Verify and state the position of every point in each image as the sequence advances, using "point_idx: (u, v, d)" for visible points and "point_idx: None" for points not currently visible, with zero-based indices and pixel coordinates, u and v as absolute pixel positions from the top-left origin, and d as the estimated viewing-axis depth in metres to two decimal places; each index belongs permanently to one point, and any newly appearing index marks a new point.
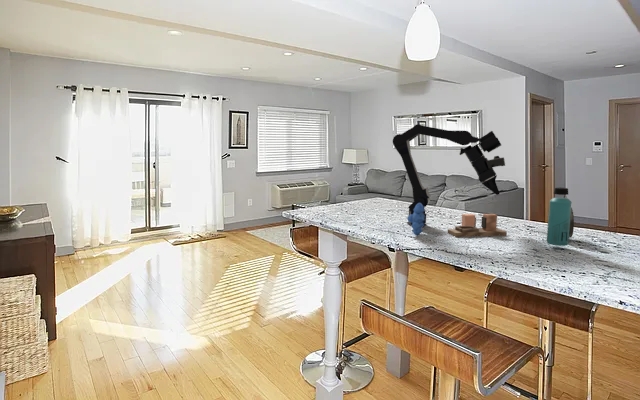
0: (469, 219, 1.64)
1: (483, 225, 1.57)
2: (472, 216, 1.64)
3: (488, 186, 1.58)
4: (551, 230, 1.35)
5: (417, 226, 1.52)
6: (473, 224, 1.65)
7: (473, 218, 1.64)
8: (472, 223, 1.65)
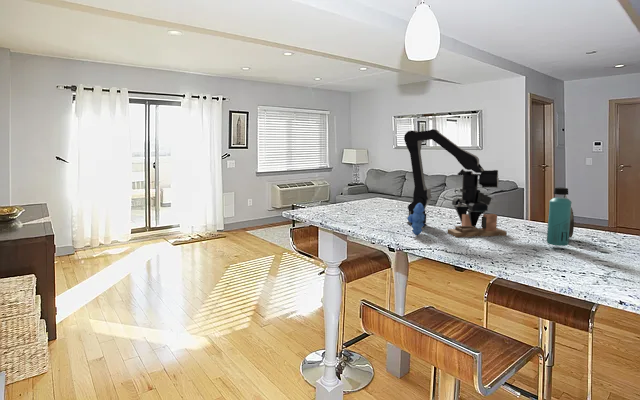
0: (469, 219, 1.64)
1: (483, 225, 1.57)
2: None
3: (472, 216, 1.59)
4: (551, 230, 1.35)
5: (417, 226, 1.52)
6: None
7: None
8: None
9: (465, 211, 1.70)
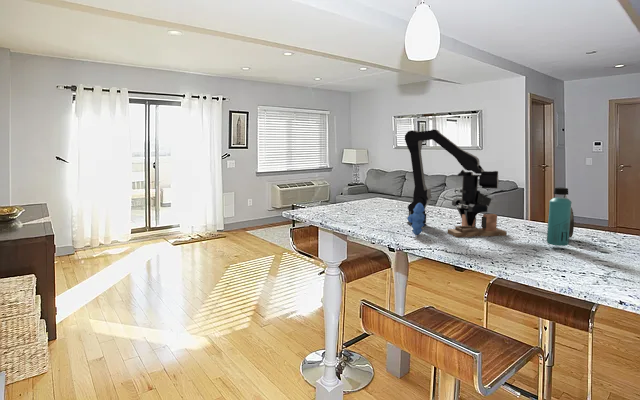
0: None
1: (483, 225, 1.57)
2: None
3: (468, 216, 1.62)
4: (551, 230, 1.35)
5: (417, 226, 1.52)
6: (473, 224, 1.65)
7: None
8: None
9: None
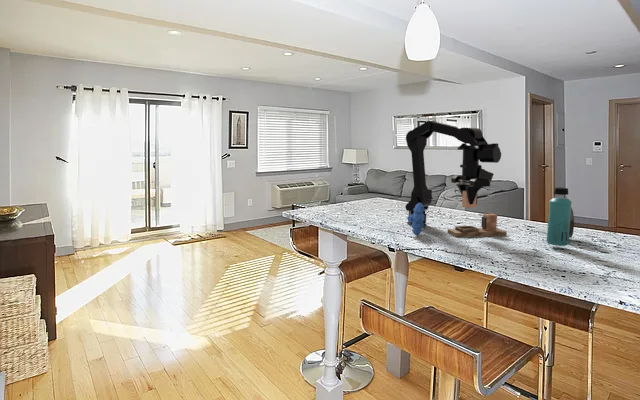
0: None
1: (483, 225, 1.57)
2: None
3: (469, 192, 1.52)
4: (551, 230, 1.35)
5: (417, 226, 1.52)
6: (475, 201, 1.55)
7: None
8: None
9: None
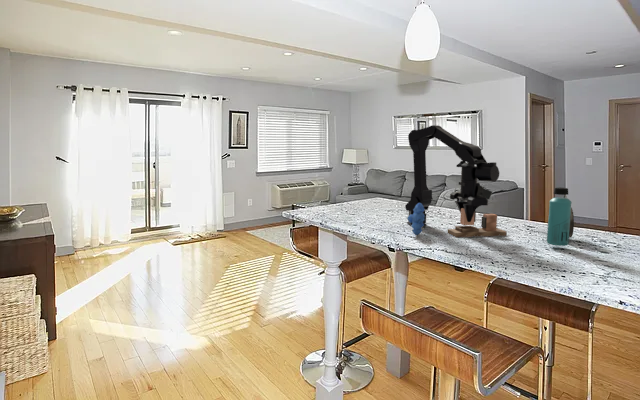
0: None
1: (483, 225, 1.57)
2: None
3: (467, 210, 1.52)
4: (551, 230, 1.35)
5: (417, 226, 1.52)
6: (473, 218, 1.55)
7: None
8: (472, 217, 1.55)
9: None
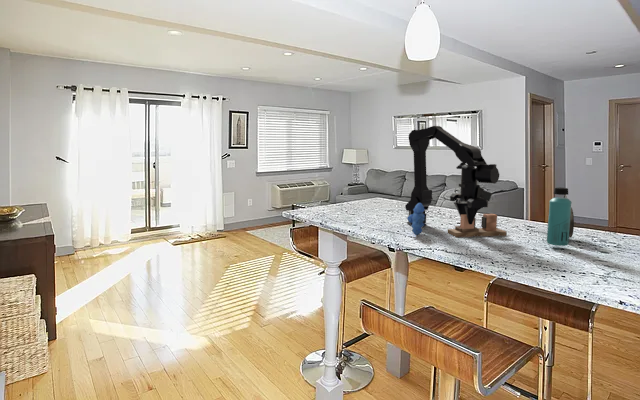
0: None
1: (483, 225, 1.57)
2: None
3: (469, 212, 1.51)
4: (551, 230, 1.35)
5: (417, 226, 1.52)
6: (472, 225, 1.55)
7: None
8: (471, 224, 1.55)
9: None
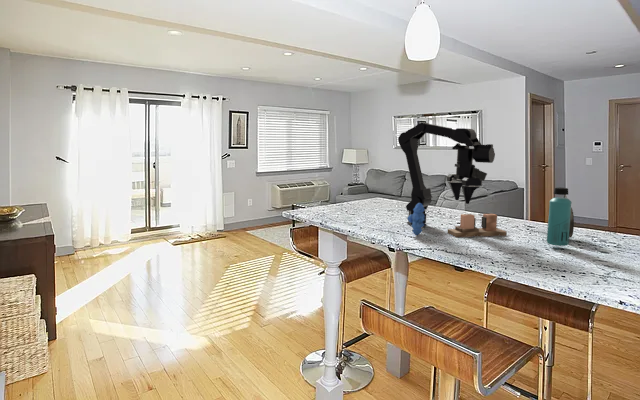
0: (468, 220, 1.55)
1: (483, 225, 1.57)
2: (471, 216, 1.55)
3: (465, 192, 1.54)
4: (551, 230, 1.35)
5: (417, 226, 1.52)
6: (472, 225, 1.55)
7: (472, 218, 1.55)
8: (471, 224, 1.55)
9: (459, 187, 1.66)
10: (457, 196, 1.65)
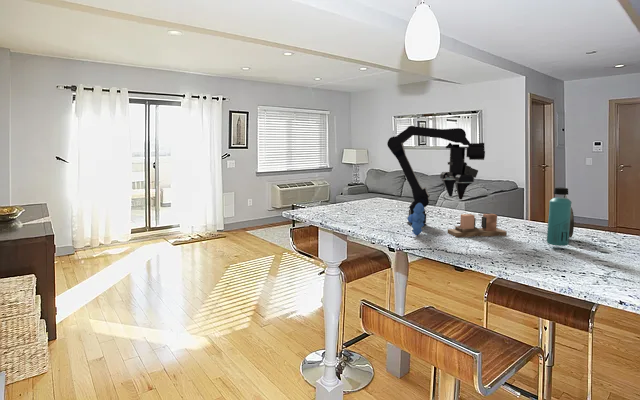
0: (468, 220, 1.55)
1: (483, 225, 1.57)
2: (471, 216, 1.55)
3: (459, 188, 1.63)
4: (551, 230, 1.35)
5: (417, 226, 1.52)
6: (472, 225, 1.55)
7: (472, 218, 1.55)
8: (471, 224, 1.55)
9: (452, 184, 1.75)
10: (450, 193, 1.74)
